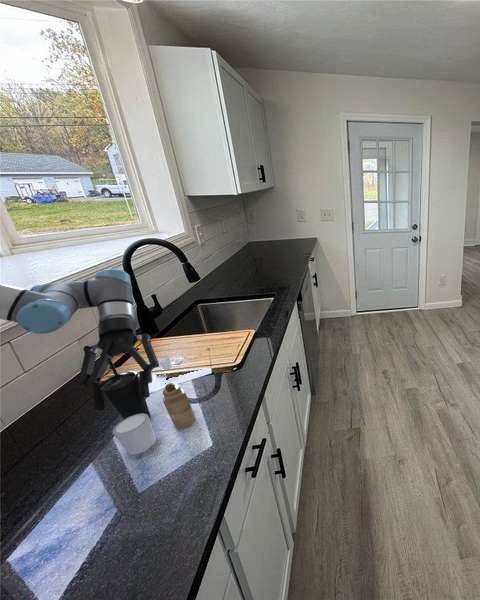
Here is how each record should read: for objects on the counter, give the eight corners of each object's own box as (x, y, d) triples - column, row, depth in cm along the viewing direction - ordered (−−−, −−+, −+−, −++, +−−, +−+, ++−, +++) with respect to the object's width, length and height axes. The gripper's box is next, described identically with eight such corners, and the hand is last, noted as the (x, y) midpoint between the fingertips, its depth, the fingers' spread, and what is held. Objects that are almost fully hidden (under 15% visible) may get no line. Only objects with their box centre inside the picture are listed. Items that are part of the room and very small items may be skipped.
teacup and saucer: (185, 359, 112) (181, 349, 111) (184, 370, 106) (180, 360, 105) (155, 368, 108) (151, 358, 107) (153, 379, 102) (148, 369, 100)
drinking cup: (154, 406, 90) (126, 347, 82) (159, 419, 85) (129, 357, 77) (120, 421, 85) (87, 359, 77) (123, 436, 80) (88, 372, 72)
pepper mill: (172, 423, 83) (155, 385, 78) (192, 413, 86) (177, 375, 81) (177, 432, 80) (159, 392, 75) (198, 421, 83) (182, 382, 78)
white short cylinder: (144, 456, 74) (133, 434, 71) (116, 457, 74) (104, 435, 71) (165, 433, 80) (155, 412, 77) (139, 434, 80) (128, 413, 77)
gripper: (168, 317, 93) (178, 390, 86) (75, 336, 85) (77, 419, 78) (157, 307, 87) (167, 386, 80) (56, 327, 78) (57, 416, 71)
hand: (123, 402), depth 79 cm, fingers open, 9 cm apart
